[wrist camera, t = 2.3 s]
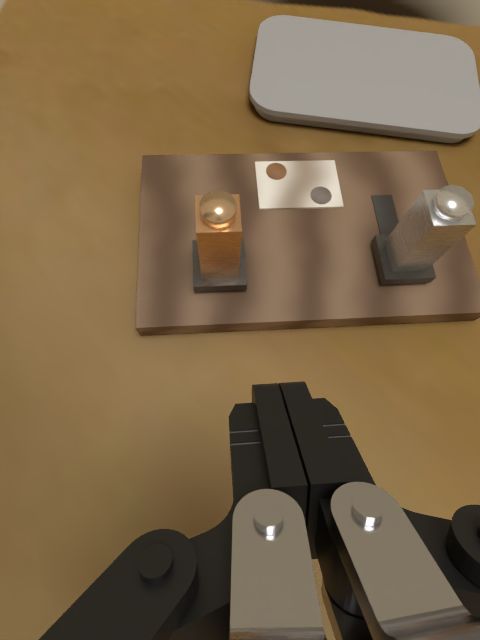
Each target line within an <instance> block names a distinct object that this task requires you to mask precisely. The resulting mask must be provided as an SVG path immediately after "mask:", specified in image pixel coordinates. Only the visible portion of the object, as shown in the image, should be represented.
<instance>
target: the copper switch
mask: <svg viewBox="0 0 480 640" xmlns="http://www.w3.org/2000/svg"><path fill="white" fill-rule="evenodd" d="M195 214H196V237H197V240H192V250H193V288H194V292H210V291H236V290H247V273H246V260H245V247H244V239H241V238H242V224H241V211H240V198H239V194H229V193H228V192H225V191H222V190H214V191H210V192H208V193H206V194H205V195H195Z"/></svg>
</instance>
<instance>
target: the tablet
mask: <svg viewBox="0 0 480 640" xmlns="http://www.w3.org/2000/svg"><path fill="white" fill-rule="evenodd" d="M249 96H250V100H251V102H252V104H253V105H254V106H255V109H256V111H257V112H258V113H259V115H261V116H262V117H263V118H265V119H267V120H270V121H275V122H283V123H292V124H300V125H308V126H316V127H324V128H332V129H340V130H348V131H356V132H364V133H372V134H380V135H388V136H396V137H404V138H412V139H420V140H428V141H436V142H444V143H456V142H459V141H461V140H463V139H464V138H468V137H471V136H473V135H474V134H475V133H477V131H478V130H479V129H480V87H479V81H478V75H477V69H476V63H475V57H474V53H473V51H472V50H471V48H470V47H469V46H468V45H467V44H466V43H465V42H463V41H461V40H459V39H457V38H455V37H452V36H448V35H441V34H433V33H425V32H417V31H409V30H401V29H393V28H384V27H376V26H368V25H360V24H352V23H344V22H336V21H328V20H320V19H312V18H304V17H296V16H288V15H278V16H273V17H270V18H267V19H266V20H264V21H263V22H262V23H261V25H260V26H259V30H258V37H257V43H256V49H255V56H254V62H253V69H252V75H251V82H250V91H249Z"/></svg>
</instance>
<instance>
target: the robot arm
mask: <svg viewBox="0 0 480 640" xmlns="http://www.w3.org/2000/svg"><path fill="white" fill-rule="evenodd" d="M229 430H230V451H231V469H232V485H233V505H232V507H231V510H230V512H229V513H228V515H227V516H226V518H225V519H224V520H223V521H222V522H221V523H220V524H219V525H217V526H216V527H214V528H213V529H211V530H209V531H207V532H205V533H202V534H200V535H198V536H195V537H193V538H191V539H188V538H187V537H186V536H185V535H183V534H182V533H180V532H178V531H174V530H170V529H159V530H154V531H151V532H148V533H146V534H144V535H142V536H140V537H139V538H137V539H136V540H135V541H133V542H132V543H131V544H130V545H129V546H128V547H127V548H126V549H125V550H124V551H123V552H122V553H121V554H120V556H119V557H118V558H117V559H116V560H115V561H114V562H113V563H112V564H111V565H110V566H109V567H108V568H107V569H106V570H105V571H104V572H103V573H102V574H101V575H100V576H99V577H98V578H97V579H96V581H95V582H94V583H93V584H92V585H91V586H90V587H89V588H88V589H87V590H86V591H85V592H84V593H83V594H82V595H81V596H80V597H79V598H78V599H77V600H76V601H75V602H74V603H73V604H72V606H71V607H70V608H69V609H68V610H67V611H66V612H65V613H64V614H63V615H62V616H61V617H60V618H59V619H58V620H57V621H56V622H55V623H54V624H53V625H52V626H51V627H50V628H49V629H48V631H47V632H46V633H45V634H44V635H43V636H42V637H41V638H40V639H39V640H327V639H326V636H325V632H324V627H323V622H322V616H321V610H320V605H319V599H318V593H317V587H316V582H315V576H314V570H313V564H312V559H318V561H319V564H320V568H321V572H322V576H323V578H322V588H321V590H322V598H323V602H324V605H325V608H326V611H327V614H328V617H329V620H330V623H331V627H332V630H333V633H334V636H335V639H336V640H480V505H466V506H463V507H461V508H459V509H458V510H457V511H456V512H455V513H454V515H453V517H452V520H447V519H443V518H438V517H433V516H428V515H424V514H419V513H415V512H412V511H409V510H406V509H404V508H402V507H401V506H400V505H399V503H398V502H397V501H396V500H395V498H394V497H393V496H392V495H390V494H389V493H388V492H387V491H385V490H383V489H382V488H380V487H378V486H376V484H375V483H374V481H373V479H372V477H371V475H370V473H369V471H368V469H367V467H366V465H365V463H364V461H363V459H362V457H361V455H360V453H359V451H358V449H357V447H356V445H355V443H354V441H353V439H352V437H350V433H349V431H348V429H347V427H346V426H345V424H344V421H343V419H342V417H341V415H340V413H339V411H338V409H337V408H336V407H334V406H333V405H332V404H331V403H330V402H329V401H327V400H326V399H325V398H317V399H312V397H311V395H310V393H309V390H308V388H307V385H306V383H305V382H289V383H279V384H277V383H275V384H259V385H252V403H242V404H235V406H234V408H233V410H232V412H231V413H230V415H229Z"/></svg>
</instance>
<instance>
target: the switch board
mask: <svg viewBox="0 0 480 640" xmlns="http://www.w3.org/2000/svg"><path fill="white" fill-rule="evenodd" d="M445 186H448V184H447V181H446V178H445V175H444V172H443V169H442V166H441V163H440V160H439V157H438V154H437V151H395V152H333V153H270V154H207V155H145V156H143V159H142V183H141V208H140V232H139V257H138V282H137V306H136V329H137V331H138V332H139V334H140V335H141V336H144V335H166V334H188V333H209V332H231V331H253V330H275V329H296V328H318V327H340V326H362V325H383V324H405V323H427V322H449V321H470V320H476V319H478V318H480V282H479V279H478V276H477V273H476V270H475V267H474V264H473V261H472V258H471V255H470V251H469V248H468V245H467V242H466V239H465V236H463V237H462V238H461V239H460V240H459V241H458V242H457V243H456V244H455V245H454V246H452V247H451V248H450V249H449V250H448V251H447V252H446V253H445V254H444V255H443V256H442V257H441V258H439V259H438V260H437V261H436V262H435V263H434V264H433V268H434V271H435V275H436V278H435V279H434V280H433V281H432V282H431V283H415V284H389V285H381V284H380V279H379V275H378V270H377V266H376V261H375V257H374V252H373V247H372V243H371V240H372V239H373V237H374V236H375V235H381V234H391V232H392V231H393V230H394V228H395V227H396V226H397V224H398V223H399V222H400V220H401V219H402V218H403V216H404V215H405V214H406V212H407V211H408V210H409V208H410V207H411V206H412V204H413V203H414V202H415V200H416V199H417V198H418V196H419V195H420V194H421V192H422V191H423V190H441V189H442V188H443V187H445ZM214 190H222V191H225V192H228V193H229V194H239V198H240V211H241V224H242V238H241V239H244V247H245V260H246V273H247V290H236V291H210V292H194V288H193V250H192V240H197V237H196V214H195V195H205V194H206V193H208V192H210V191H214Z"/></svg>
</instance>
